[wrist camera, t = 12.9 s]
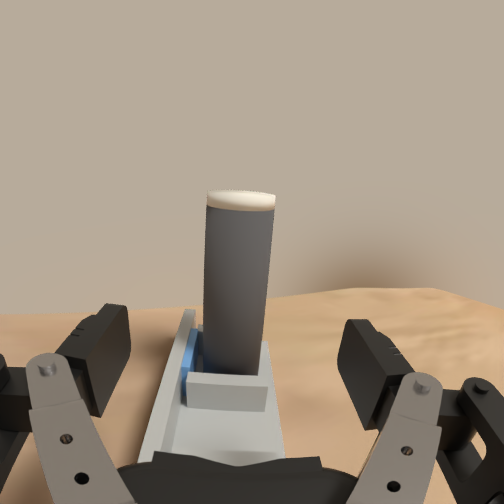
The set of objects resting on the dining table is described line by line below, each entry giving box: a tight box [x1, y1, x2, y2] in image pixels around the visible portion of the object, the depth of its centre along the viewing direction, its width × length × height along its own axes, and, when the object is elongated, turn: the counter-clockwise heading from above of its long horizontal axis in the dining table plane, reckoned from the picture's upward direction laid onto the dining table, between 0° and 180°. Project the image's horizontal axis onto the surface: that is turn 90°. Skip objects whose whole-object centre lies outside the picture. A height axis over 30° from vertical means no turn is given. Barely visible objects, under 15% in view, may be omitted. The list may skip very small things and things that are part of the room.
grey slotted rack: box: [137, 309, 286, 466], centre depth 17 cm, size 8×26×4 cm, turn 2°
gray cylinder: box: [203, 190, 276, 376], centre depth 22 cm, size 4×4×14 cm
